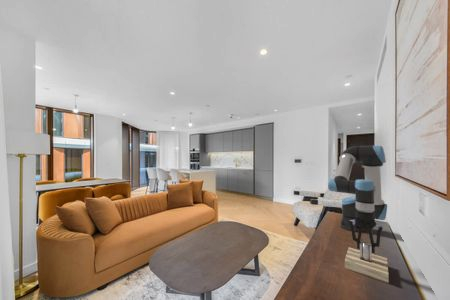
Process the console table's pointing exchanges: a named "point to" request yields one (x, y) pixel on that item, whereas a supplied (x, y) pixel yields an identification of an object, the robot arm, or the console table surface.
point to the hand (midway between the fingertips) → (365, 257)
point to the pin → (366, 251)
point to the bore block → (367, 265)
